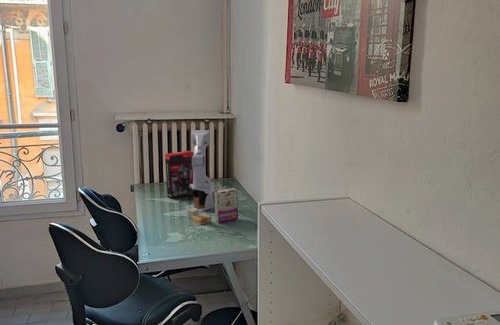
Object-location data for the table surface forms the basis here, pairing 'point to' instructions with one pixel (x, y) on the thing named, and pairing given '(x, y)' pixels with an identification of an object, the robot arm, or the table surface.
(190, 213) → the sage block
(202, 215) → the oak slab
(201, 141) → the robot arm
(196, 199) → the walnut block
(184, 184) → the graphics card box
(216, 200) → the candy bar box
